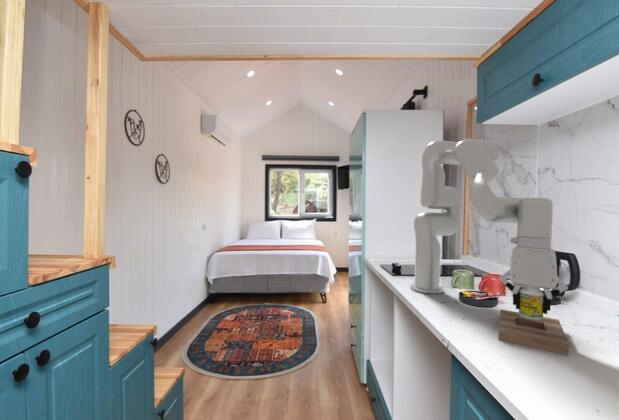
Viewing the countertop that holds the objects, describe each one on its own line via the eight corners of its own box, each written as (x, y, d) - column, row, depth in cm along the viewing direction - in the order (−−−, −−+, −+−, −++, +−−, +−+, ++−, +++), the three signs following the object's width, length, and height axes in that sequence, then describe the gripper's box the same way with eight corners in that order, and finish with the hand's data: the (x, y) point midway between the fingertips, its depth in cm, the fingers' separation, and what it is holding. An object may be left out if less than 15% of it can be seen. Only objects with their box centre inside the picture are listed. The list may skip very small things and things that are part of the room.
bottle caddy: (500, 318, 95) (500, 309, 95) (558, 330, 87) (558, 319, 87) (498, 339, 80) (498, 328, 80) (568, 355, 72) (569, 342, 72)
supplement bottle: (545, 317, 83) (546, 282, 83) (540, 322, 79) (542, 285, 79) (521, 312, 87) (522, 278, 87) (516, 316, 83) (517, 281, 83)
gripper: (495, 241, 84) (493, 307, 85) (577, 248, 75) (574, 321, 75) (496, 239, 91) (494, 300, 91) (572, 245, 81) (569, 313, 82)
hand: (530, 309), depth 83 cm, fingers closed on supplement bottle, 5 cm apart
